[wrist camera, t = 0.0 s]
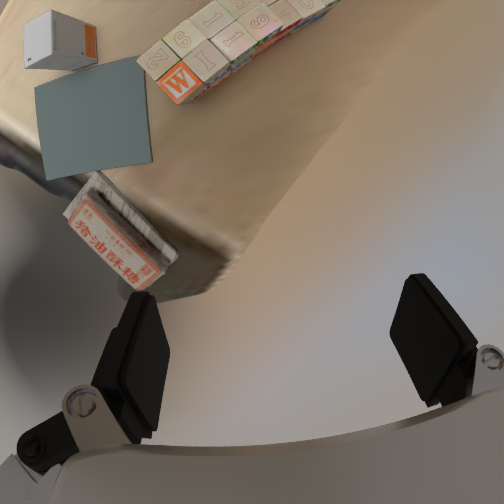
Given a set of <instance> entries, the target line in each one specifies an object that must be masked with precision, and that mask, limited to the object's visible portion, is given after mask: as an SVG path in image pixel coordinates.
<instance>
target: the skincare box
mask: <svg viewBox="0 0 504 504" xmlns="http://www.w3.org/2000/svg"><path fill="white" fill-rule="evenodd" d="M23 50H24V66H25V69H52V70H68V71H74V70H77V69H80V68H82V67H85V66H88V65H91V64H93V63H97V62H98V60H97V50H96V27H95V26H93V25H90V24H88V23H85V22H83V21H81V20H78V19H76V18H73V17H70V16H68V15H65V14H62V13H60V12H57V11H54V10H50V11H48V12H46V13H44V14H42V15H40V16H38V17H37V18H35V19H33V20H31V21H29V22H27V23H26V24H25V25H24V41H23Z"/></svg>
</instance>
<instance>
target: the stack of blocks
mask: <svg viewBox="0 0 504 504" xmlns="http://www.w3.org/2000/svg"><path fill="white" fill-rule="evenodd" d="M339 1H340V0H214V1H212V2H211V3H209V4H208V5H206V6H205V7H203V8H202V9H201V10H199V11H198V12H196V13H195V14H194V15H192V16H191V17H190V18H188V19H186V20H184V21H183V22H182V23H180V24H179V25H178V26H176V27H175V28H174V29H173V30H171V31H170V32H169V33H168V34H167V35H165V36H164V37H163V38H162V39H161V40H159V41H157V42H156V43H155V44H154V45H153V46H152V47H150V48H149V49H148V50H147V51H146V52H145V53H144V54H143V55H141V56H140V57H139V58H138V59H137V63H138V64H139V65H140V66H141V67H142V68H143V69H144V70H145V71H146V72H147V73H148V74H149V75H150V76H151V78H152V79H153V80H154V81H157V83H158V85H159V86H160V87H161V88H162V89H163V90H164V91H165V92H166V94H167V95H168V96H169V97H170V98H171V99H172V100H173V101H174V102H175V103H176V104H177V105H179V104H186V103H189V102H192V103H193V102H196V101H197V100H198V99H199V98H201V97H202V96H203V95H204V94H206V93H207V92H208V91H209V90H211V89H212V88H214V87H216V86H217V85H218V84H219V83H221V82H222V81H223V80H225V79H226V78H227V77H229V76H230V75H231V74H233V73H234V72H236V71H237V70H239V69H240V68H241V67H243V66H244V65H246V64H247V63H248V62H250V61H251V59H252V58H254V57H256V56H257V55H258V54H260V53H262V52H263V51H265V50H266V49H268V48H269V47H270V46H271V45H273V44H275V43H276V42H278V41H279V40H281V39H283V38H284V37H286V36H287V35H291V34H293V33H294V32H296V31H298V30H299V29H301V28H303V27H305V26H306V25H308V24H309V23H311V22H313V21H315V20H317V19H318V18H320V17H322V16H324V15H325V14H326V13H327V12H328V11H330V10H331V9H332V8H333V7H335V6H336V5H337V4H338V2H339Z"/></svg>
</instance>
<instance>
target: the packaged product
mask: <svg viewBox="0 0 504 504" xmlns="http://www.w3.org/2000/svg"><path fill="white" fill-rule="evenodd" d="M63 215H64V216H65V217H66V218H67V219H68V224H69V225H70V226H71V227H72V228H73V230H74V231H75V232H76V233H77V234H78V235H79V236H80V237H81V238H82V239H83V240H84V241H85V242H86V243H87V244H88V245H89V246H90V247H91V248H92V249H93V250H94V251H95V252H96V253H97V254H98V255H99V256H100V257H101V258H102V259H103V260H104V261H105V262H106V263H107V264H108V265H109V266H110V267H112V268H113V269H114V270H115V271H116V272H117V273H118V274H119V275H120V276H121V277H122V278H123V279H124V280H125V281H126V282H127V283H129V284H130V285H131V286H132V287H133V288H134V289H135V290H137V291H139V290H141V289H145V288H146V287H150V286H151V285H152V284H153V283H154V282H155V281H156V280H157V279H159V277H160V276H162V275H164V274H165V273H166V271H167V267H168V266H169V265H170V264H171V263H173V262H174V261H175V260H176V259H177V258H178V257H179V253H178V251H177V250H175V249H174V248H173V247H172V246H171V245H170V244H169V243H168V242H167V241H166V240H165V239H164V238H163V237H162V235H161V234H160V233H159V232H158V231H157V230H156V229H155V228H154V227H153V225H152V224H150V222H149V221H148V220H147V219H146V218H145V217H144V216H143V215H142V214H141V213H140V212H139V211H138V210H137V209H136V207H135V206H134V205H133V204H132V203H131V202H130V201H129V200H128V199H127V198H126V197H125V196H124V195H123V194H122V193H121V192H120V191H119V190H118V189H117V188H116V187H115V186H114V185H113V184H112V183H111V182H110V181H109V180H108V179H107V178H106V177H105V176H104V175H103V174H102V173H101V172H100V171H96V172H95V173H94V174H93V175H92V177H91V178H90V179H89V180H88V182H87V183H86V184H85V185H84V187H83V188H82V189H81V190H80V191H79V193H78V194H77V195H76V197H75V198H74V199H73V201H72V202H71V203H70V205H69V206H68V208H67V209H66V211H65V212H64V213H63Z"/></svg>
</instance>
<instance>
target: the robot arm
mask: <svg viewBox="0 0 504 504" xmlns="http://www.w3.org/2000/svg"><path fill="white" fill-rule="evenodd" d="M390 337H391V340H392V342H393V344H394V345H395V347H396V349H397V351H398V353H399V355H400V357H401V359H402V361H403V363H404V365H405V367H406V369H407V371H408V373H409V375H410V377H411V379H412V381H413V383H414V386H415V388H416V390H417V392H418V394H419V396H420V398H421V400H422V401H425V403H426V405H427V407H431V406H434V405H437V404H439V402H440V403H441V405H442V407H441V408H438V409H435V410H432V411H429V412H427V413H423V414H420V415H417V416H414V417H411V418H407V419H404V420H401V421H397V422H393V423H390V424H386V425H382V426H378V427H374V428H370V429H365V430H361V431H356V432H352V433H347V434H342V435H336V436H331V437H325V438H319V439H312V440H305V441H297V442H288V443H279V444H267V445H254V446H230V447H229V446H228V447H190V446H187V447H186V446H166V445H143V444H140V443H141V439H142V438H149V439H151V437H152V431H156V430H157V428H158V421H159V415H160V409H161V403H162V397H163V391H164V385H165V379H166V374H167V369H168V363H169V358H170V348H169V345H168V341H167V338H166V335H165V332H164V329H163V325H162V321H161V318H160V314H159V311H158V308H157V304H156V300H155V297H154V296H153V295H150V294H149V292H147V291H146V292H132V294H131V296H130V298H129V300H128V303H127V305H126V308H125V310H124V312H123V314H122V317H121V319H120V321H119V324H118V326H117V327H116V328H113V330H112V331H111V333H110V336H109V338H108V341H107V343H106V346H105V348H104V351H103V353H102V356H101V358H100V361H99V363H98V366H97V369H96V371H95V374H94V377H93V380H92V382H91V385H87V384H85V385H79V386H76V387H74V388H72V389H71V390H69V391H68V392H67V393H66V395H65V396H64V398H63V400H62V410H63V411H61V412H60V413H58V414H56V415H55V416H53V417H51V418H49V419H48V420H46V421H44V422H43V423H41V424H39V425H37V426H36V427H33V428H32V429H30V430H28V431H26V432H25V433H24V434H22V436H21V437H20V438H19V440H18V443H17V454H16V455H15V456H14V455H13V454H11V455H10V456H9V457H8V458H7V459H6V460H5V461H4V463H3V464H2V465H1V466H0V504H504V354H503V352H502V351H501V350H500V349H499V348H497V347H495V346H493V345H483V346H481V347H480V348H479V349H477V347H476V345H477V344H478V341H477V339H476V338H475V337H474V335H473V334H472V333H471V332H470V330H469V329H468V327H467V326H466V324H465V323H464V322H463V320H462V319H461V318H460V316H459V315H458V314H457V313H456V311H455V310H454V309H453V307H452V306H451V305H450V304H449V302H448V301H447V300H446V299H445V298H444V296H443V295H442V294H441V293H440V291H439V290H438V289H437V288H436V287H435V285H434V284H433V283H432V282H431V281H430V279H428V277H427V276H426V275H425V274H423V273H420V274H412V275H410V276H409V277H408V279H406V280H405V283H404V286H403V290H402V293H401V297H400V300H399V303H398V307H397V310H396V313H395V316H394V319H393V322H392V325H391V328H390Z"/></svg>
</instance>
